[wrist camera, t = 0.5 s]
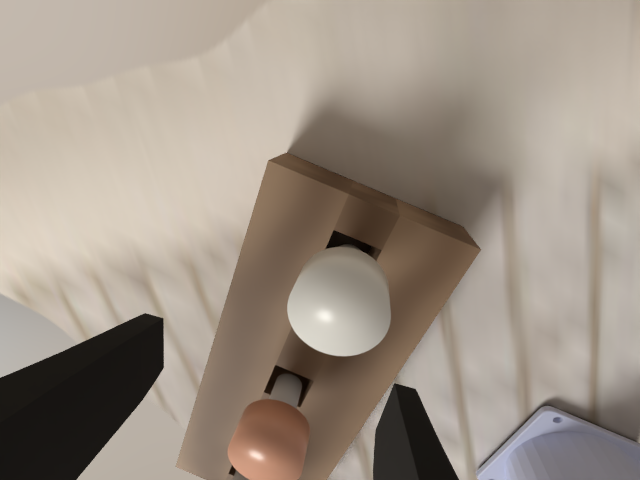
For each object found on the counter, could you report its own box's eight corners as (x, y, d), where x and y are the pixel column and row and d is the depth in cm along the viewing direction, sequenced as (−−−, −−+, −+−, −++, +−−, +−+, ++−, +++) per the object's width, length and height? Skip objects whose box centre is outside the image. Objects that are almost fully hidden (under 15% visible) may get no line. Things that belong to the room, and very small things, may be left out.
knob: (399, 242, 14) (410, 294, 10) (367, 303, 16) (364, 370, 12) (326, 211, 14) (307, 251, 10) (300, 275, 16) (274, 332, 12)
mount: (463, 226, 16) (480, 249, 14) (307, 476, 26) (299, 519, 23) (286, 152, 16) (268, 160, 14) (196, 429, 26) (175, 466, 23)
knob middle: (328, 375, 18) (313, 453, 14) (306, 414, 19) (288, 496, 15) (269, 350, 18) (238, 421, 14) (253, 391, 19) (220, 467, 15)
